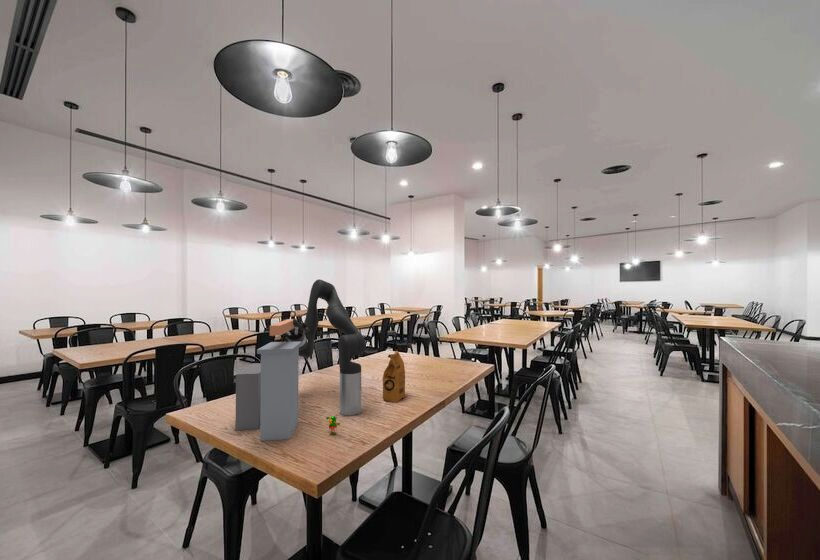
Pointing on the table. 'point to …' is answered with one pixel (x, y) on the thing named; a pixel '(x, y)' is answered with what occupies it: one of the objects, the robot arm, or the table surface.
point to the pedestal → (279, 390)
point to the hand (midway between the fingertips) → (288, 321)
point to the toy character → (333, 424)
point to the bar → (281, 327)
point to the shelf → (248, 397)
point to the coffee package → (394, 379)
